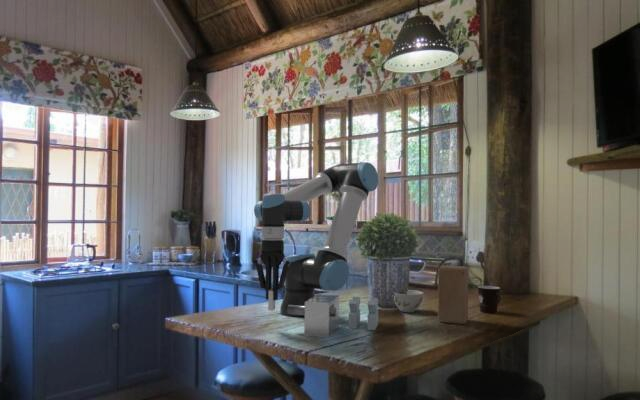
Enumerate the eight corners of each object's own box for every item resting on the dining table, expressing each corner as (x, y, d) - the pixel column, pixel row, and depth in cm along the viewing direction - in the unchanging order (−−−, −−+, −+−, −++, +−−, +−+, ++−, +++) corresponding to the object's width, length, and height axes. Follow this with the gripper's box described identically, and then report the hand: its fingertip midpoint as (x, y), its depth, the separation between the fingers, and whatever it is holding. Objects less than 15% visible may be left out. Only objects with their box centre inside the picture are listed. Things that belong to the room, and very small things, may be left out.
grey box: (304, 335, 163) (304, 301, 163) (316, 325, 179) (316, 294, 179) (328, 337, 161) (329, 303, 161) (338, 326, 177) (339, 295, 177)
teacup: (409, 315, 198) (409, 294, 198) (385, 310, 208) (385, 290, 208) (433, 310, 208) (433, 291, 208) (409, 306, 217) (409, 287, 218)
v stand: (348, 328, 174) (348, 300, 174) (353, 322, 183) (353, 296, 183) (374, 330, 172) (375, 301, 172) (378, 324, 181) (378, 297, 181)
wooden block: (466, 324, 182) (466, 268, 183) (437, 322, 186) (438, 267, 186) (468, 319, 192) (468, 266, 192) (441, 317, 195) (441, 265, 196)
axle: (287, 314, 168) (287, 304, 169) (289, 313, 171) (290, 304, 172) (334, 317, 164) (334, 307, 165) (336, 316, 167) (336, 307, 168)
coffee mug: (476, 309, 212) (476, 285, 213) (498, 310, 211) (498, 286, 211) (479, 314, 201) (479, 289, 201) (502, 316, 199) (502, 290, 199)
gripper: (250, 239, 170) (249, 310, 169) (287, 240, 167) (286, 312, 166) (258, 238, 177) (257, 306, 176) (294, 239, 174) (293, 308, 173)
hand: (271, 309), depth 171 cm, fingers closed
